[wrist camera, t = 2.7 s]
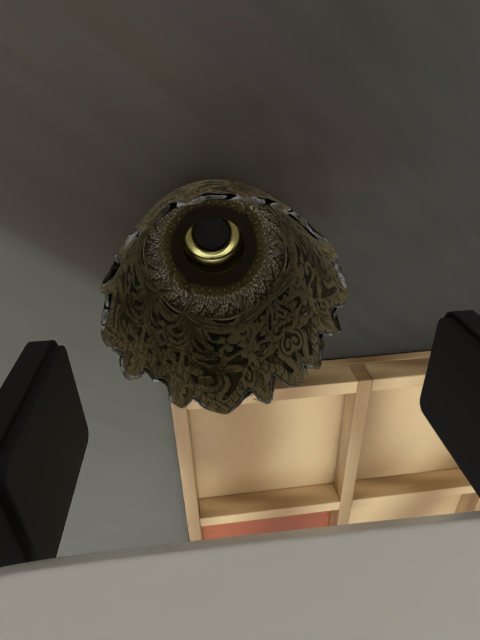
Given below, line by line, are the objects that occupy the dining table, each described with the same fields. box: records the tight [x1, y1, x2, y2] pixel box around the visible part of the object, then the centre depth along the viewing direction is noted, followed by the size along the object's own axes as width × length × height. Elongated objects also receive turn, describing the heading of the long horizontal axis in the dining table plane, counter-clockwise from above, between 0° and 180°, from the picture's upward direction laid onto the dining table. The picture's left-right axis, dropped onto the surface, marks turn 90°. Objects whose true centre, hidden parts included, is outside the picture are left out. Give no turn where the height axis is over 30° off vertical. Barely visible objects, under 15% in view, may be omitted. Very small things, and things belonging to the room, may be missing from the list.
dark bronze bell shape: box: [101, 179, 349, 415], centre depth 16 cm, size 8×7×8 cm
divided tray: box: [170, 351, 480, 541], centre depth 29 cm, size 20×20×2 cm
